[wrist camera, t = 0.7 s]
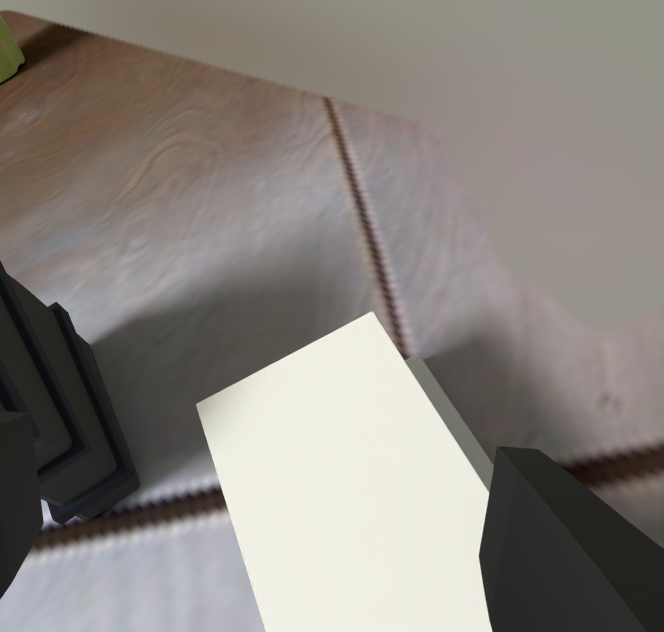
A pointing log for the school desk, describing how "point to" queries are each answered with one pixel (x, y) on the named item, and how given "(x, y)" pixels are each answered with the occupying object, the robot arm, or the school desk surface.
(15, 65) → the plant pot
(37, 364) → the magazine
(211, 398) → the camera housing
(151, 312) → the school desk surface
